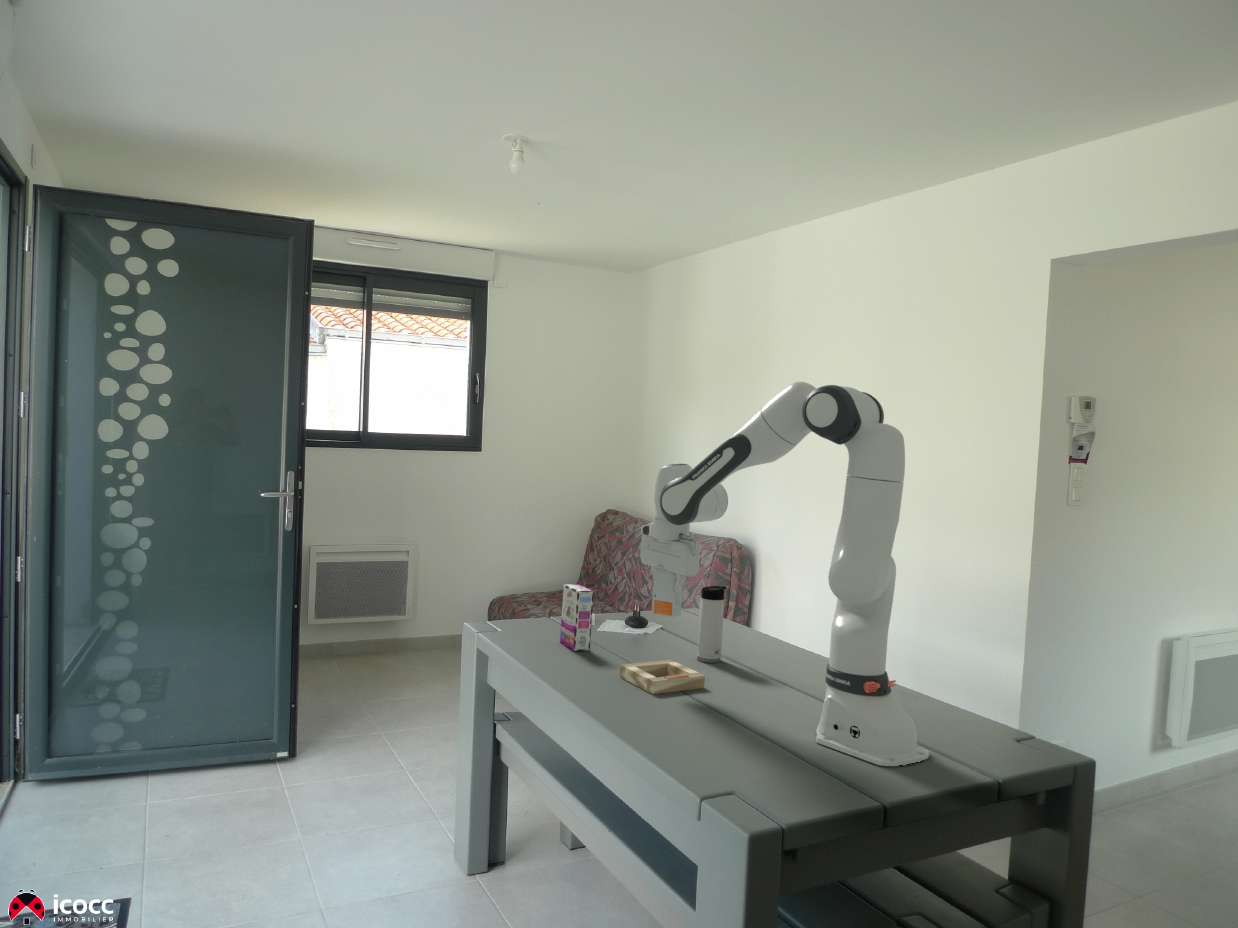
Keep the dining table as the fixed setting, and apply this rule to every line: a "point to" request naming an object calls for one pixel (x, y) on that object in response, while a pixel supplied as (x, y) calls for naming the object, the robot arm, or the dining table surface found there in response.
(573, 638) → the candy bar box
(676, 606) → the skincare box
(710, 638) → the travel mug
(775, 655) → the dining table surface
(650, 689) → the frame
